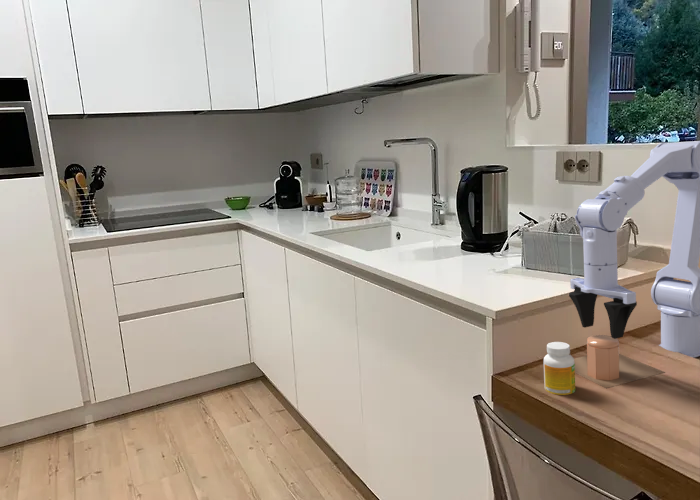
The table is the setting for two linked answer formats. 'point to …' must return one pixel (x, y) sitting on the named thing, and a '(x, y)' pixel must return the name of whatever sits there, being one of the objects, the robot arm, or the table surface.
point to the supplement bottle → (559, 369)
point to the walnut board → (627, 371)
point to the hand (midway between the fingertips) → (602, 331)
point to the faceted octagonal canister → (603, 357)
